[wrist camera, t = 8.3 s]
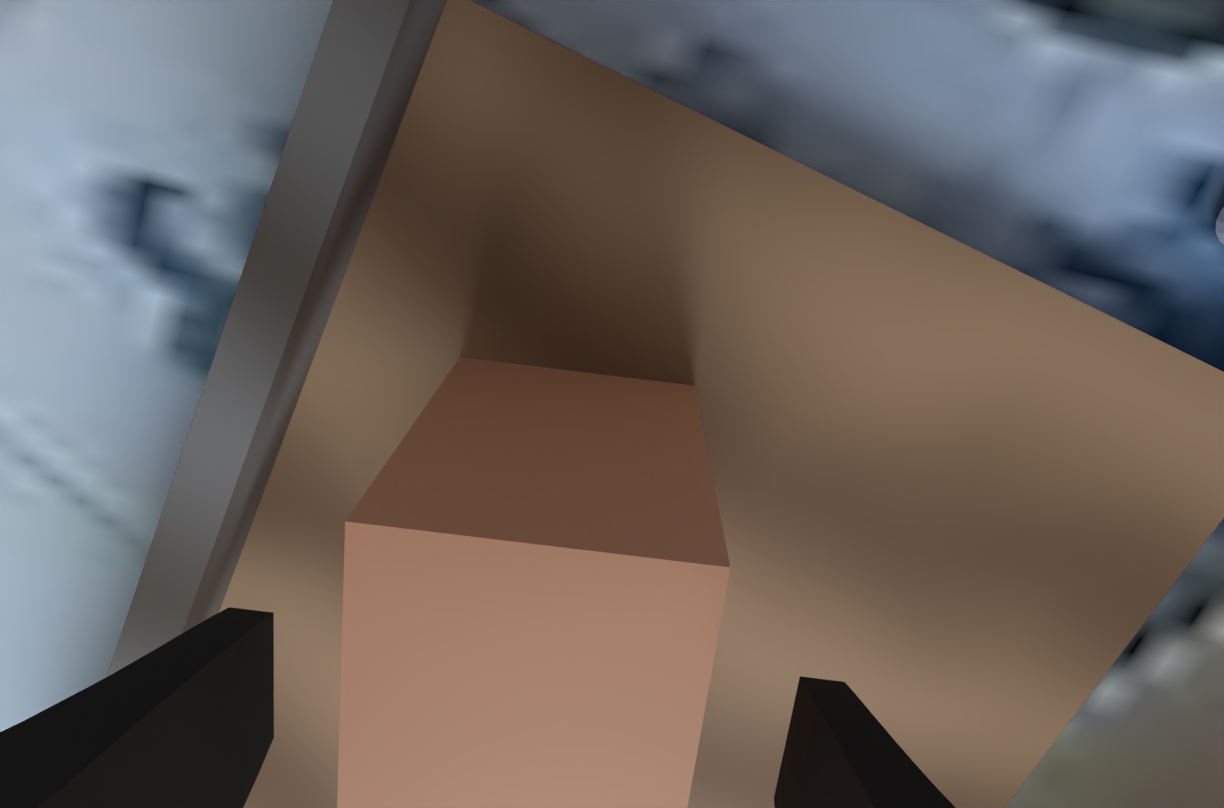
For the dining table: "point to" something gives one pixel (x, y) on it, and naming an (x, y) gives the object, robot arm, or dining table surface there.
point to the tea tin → (533, 598)
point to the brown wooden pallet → (726, 391)
